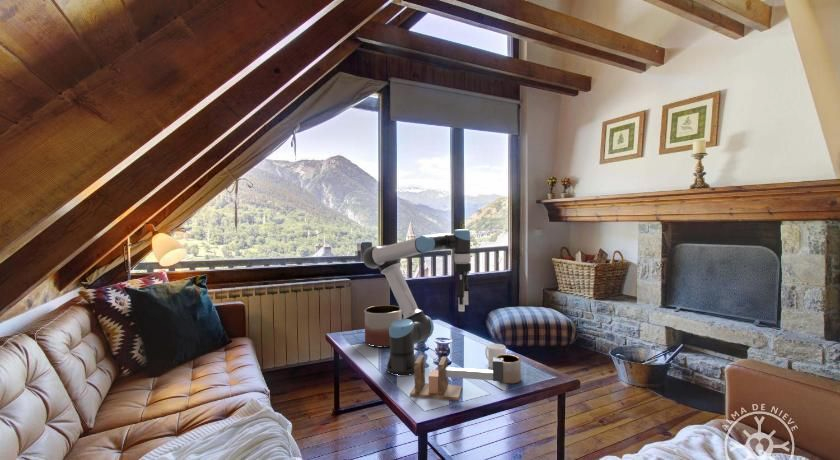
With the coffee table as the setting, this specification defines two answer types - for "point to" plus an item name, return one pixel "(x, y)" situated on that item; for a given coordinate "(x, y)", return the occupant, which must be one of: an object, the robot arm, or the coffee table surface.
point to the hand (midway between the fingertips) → (463, 307)
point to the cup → (494, 352)
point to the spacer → (434, 382)
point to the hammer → (478, 372)
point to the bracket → (444, 389)
